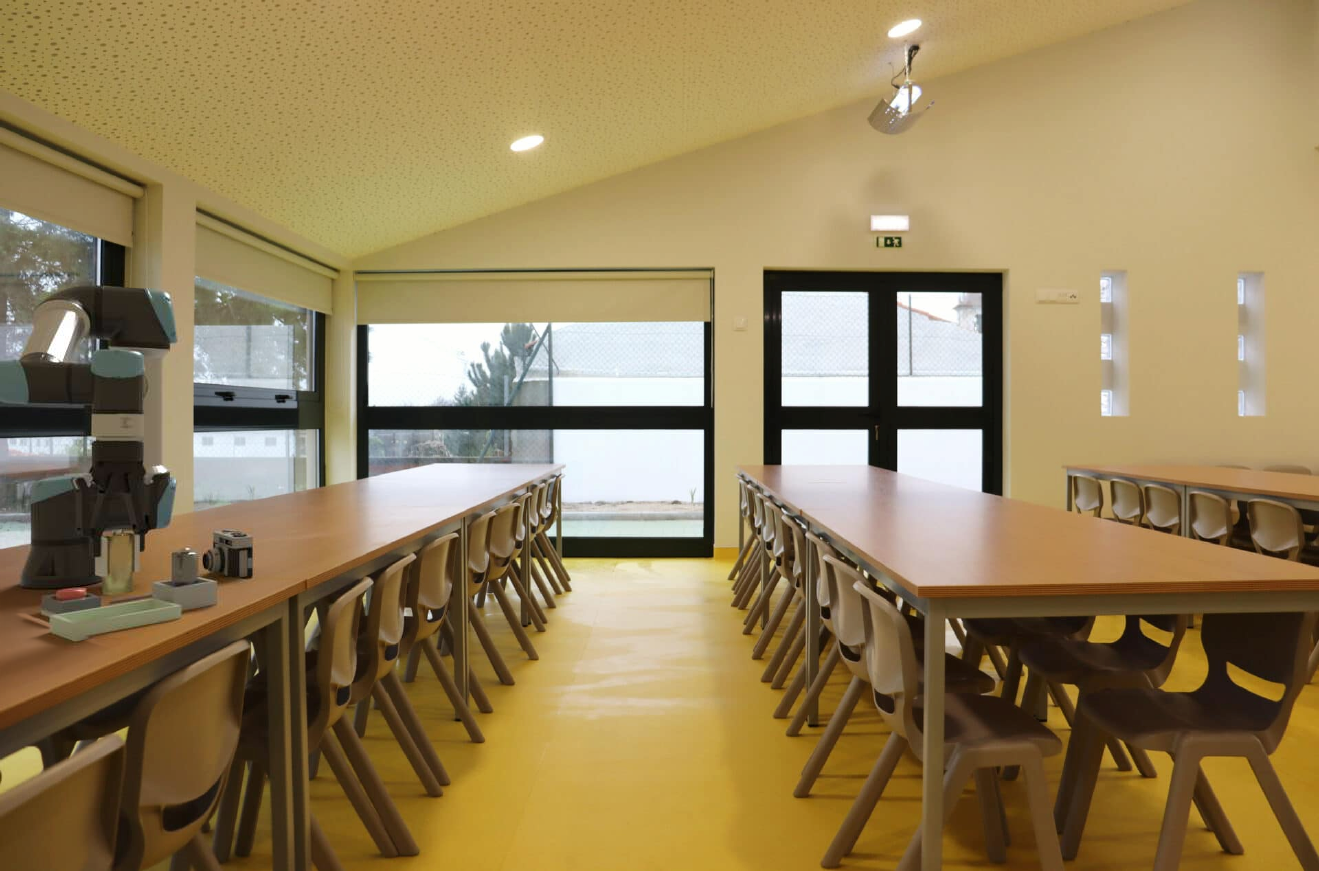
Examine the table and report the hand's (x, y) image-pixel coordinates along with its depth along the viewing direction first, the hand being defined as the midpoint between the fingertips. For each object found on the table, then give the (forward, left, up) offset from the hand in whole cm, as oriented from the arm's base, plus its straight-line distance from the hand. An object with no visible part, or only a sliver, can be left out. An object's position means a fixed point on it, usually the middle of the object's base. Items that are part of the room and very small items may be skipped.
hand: (117, 573), depth 140 cm
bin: (-5, +14, -9) cm, 17 cm away
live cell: (0, 0, -3) cm, 3 cm away
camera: (-30, +35, -10) cm, 47 cm away
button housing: (-15, -1, -9) cm, 17 cm away
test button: (-15, -1, -7) cm, 16 cm away
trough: (0, 0, -9) cm, 9 cm away
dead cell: (-5, +14, -9) cm, 17 cm away
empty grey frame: (-14, +10, -9) cm, 19 cm away
